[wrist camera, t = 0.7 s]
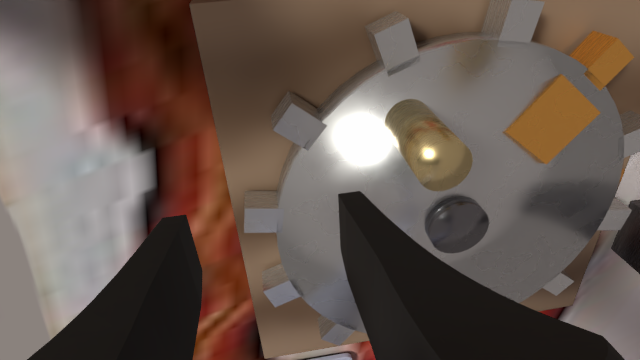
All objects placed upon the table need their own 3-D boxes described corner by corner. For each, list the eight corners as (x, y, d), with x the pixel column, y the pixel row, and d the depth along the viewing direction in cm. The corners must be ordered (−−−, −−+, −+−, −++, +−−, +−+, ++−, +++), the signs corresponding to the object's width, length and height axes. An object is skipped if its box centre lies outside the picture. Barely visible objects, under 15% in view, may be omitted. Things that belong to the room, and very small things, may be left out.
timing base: (563, 294, 31) (573, 306, 30) (264, 345, 28) (264, 359, 27) (686, -44, 19) (709, -42, 18) (191, -1, 17) (188, 4, 16)
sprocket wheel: (569, 304, 29) (631, 376, 24) (272, 356, 27) (277, 445, 22) (697, -27, 18) (854, -9, 13) (206, 19, 16) (190, 59, 11)
